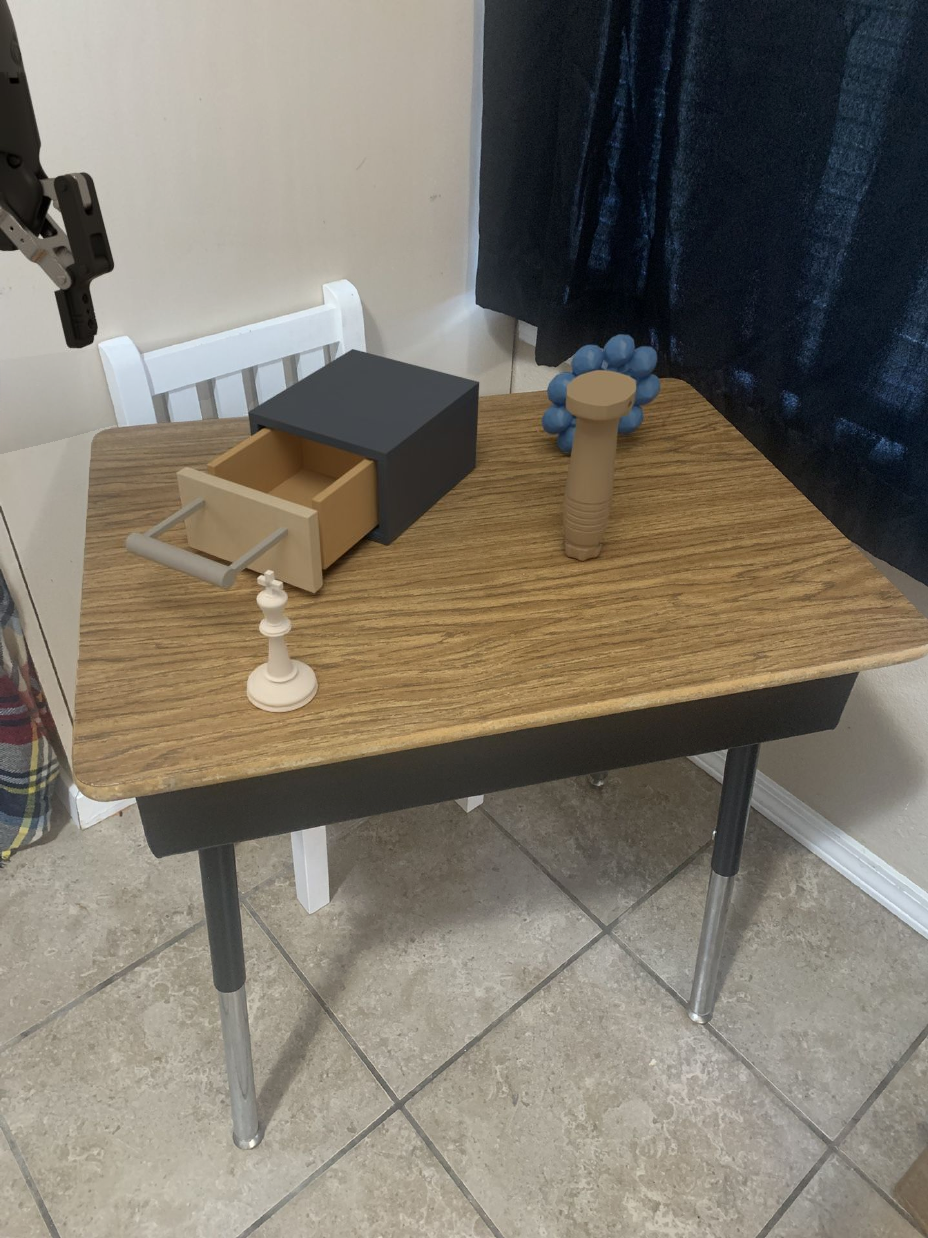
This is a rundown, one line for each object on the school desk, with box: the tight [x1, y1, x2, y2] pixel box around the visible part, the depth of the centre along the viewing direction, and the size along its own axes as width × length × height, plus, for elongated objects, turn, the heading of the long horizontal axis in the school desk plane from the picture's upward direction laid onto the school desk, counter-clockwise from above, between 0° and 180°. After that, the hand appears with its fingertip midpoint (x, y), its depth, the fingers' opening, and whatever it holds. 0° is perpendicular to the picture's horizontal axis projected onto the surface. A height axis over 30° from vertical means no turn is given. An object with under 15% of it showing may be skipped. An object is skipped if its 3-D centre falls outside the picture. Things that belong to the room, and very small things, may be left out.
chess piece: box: [246, 570, 319, 713], centre depth 66 cm, size 5×5×10 cm
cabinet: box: [247, 348, 480, 546], centre depth 88 cm, size 16×14×9 cm
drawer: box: [124, 427, 379, 594], centre depth 78 cm, size 22×13×7 cm, turn 151°
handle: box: [562, 370, 636, 562], centre depth 79 cm, size 5×6×15 cm
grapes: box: [541, 333, 661, 454], centre depth 94 cm, size 12×7×12 cm, turn 103°
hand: (26, 344), depth 66 cm, fingers open, 8 cm apart
